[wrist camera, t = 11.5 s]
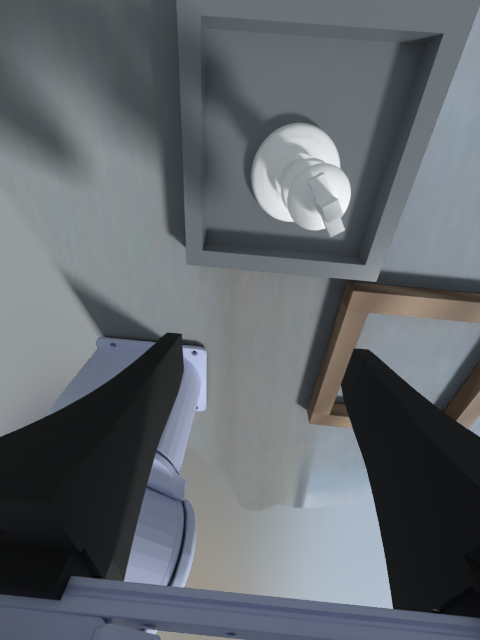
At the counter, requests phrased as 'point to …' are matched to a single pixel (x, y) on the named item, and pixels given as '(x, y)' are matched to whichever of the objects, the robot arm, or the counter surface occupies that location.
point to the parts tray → (309, 119)
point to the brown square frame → (384, 299)
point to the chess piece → (301, 178)
